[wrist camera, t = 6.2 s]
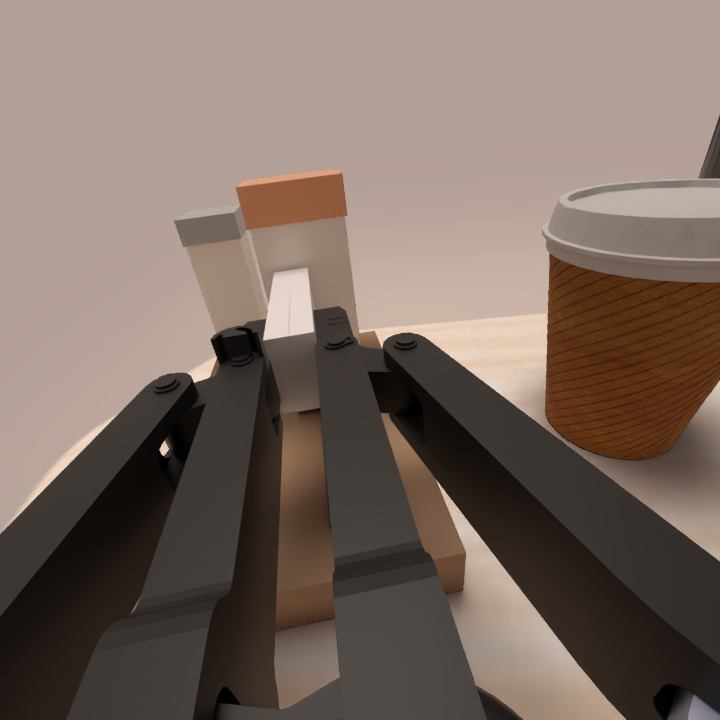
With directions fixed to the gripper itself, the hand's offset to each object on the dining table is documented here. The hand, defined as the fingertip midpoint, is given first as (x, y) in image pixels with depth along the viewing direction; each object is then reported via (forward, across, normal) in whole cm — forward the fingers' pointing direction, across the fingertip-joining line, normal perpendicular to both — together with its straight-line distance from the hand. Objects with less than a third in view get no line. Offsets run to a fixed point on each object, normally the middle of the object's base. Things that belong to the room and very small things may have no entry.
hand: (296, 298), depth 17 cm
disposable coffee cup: (-2, +16, -10) cm, 19 cm away
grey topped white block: (+8, -4, -7) cm, 11 cm away
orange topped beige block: (+2, +1, -7) cm, 7 cm away
